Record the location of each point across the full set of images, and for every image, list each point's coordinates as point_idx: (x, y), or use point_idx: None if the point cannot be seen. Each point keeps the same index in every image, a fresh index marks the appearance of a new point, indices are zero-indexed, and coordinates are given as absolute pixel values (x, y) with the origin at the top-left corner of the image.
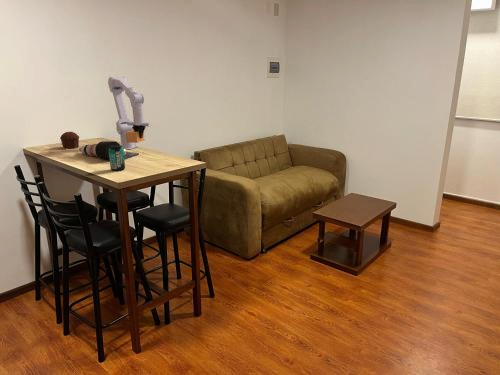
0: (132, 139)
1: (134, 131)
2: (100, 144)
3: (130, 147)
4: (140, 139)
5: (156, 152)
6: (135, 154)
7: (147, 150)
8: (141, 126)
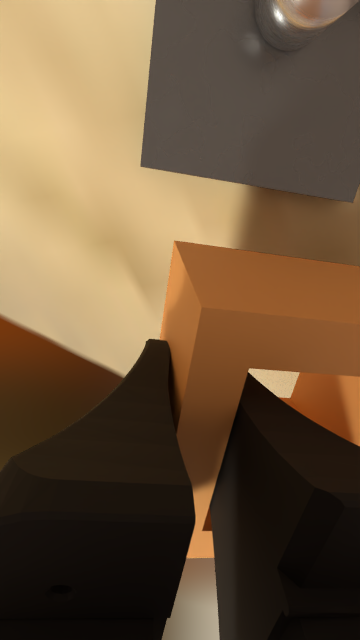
0: (280, 267)
1: None
2: None
3: None
4: None
5: (16, 313)
6: (148, 85)
7: None
8: (47, 623)
